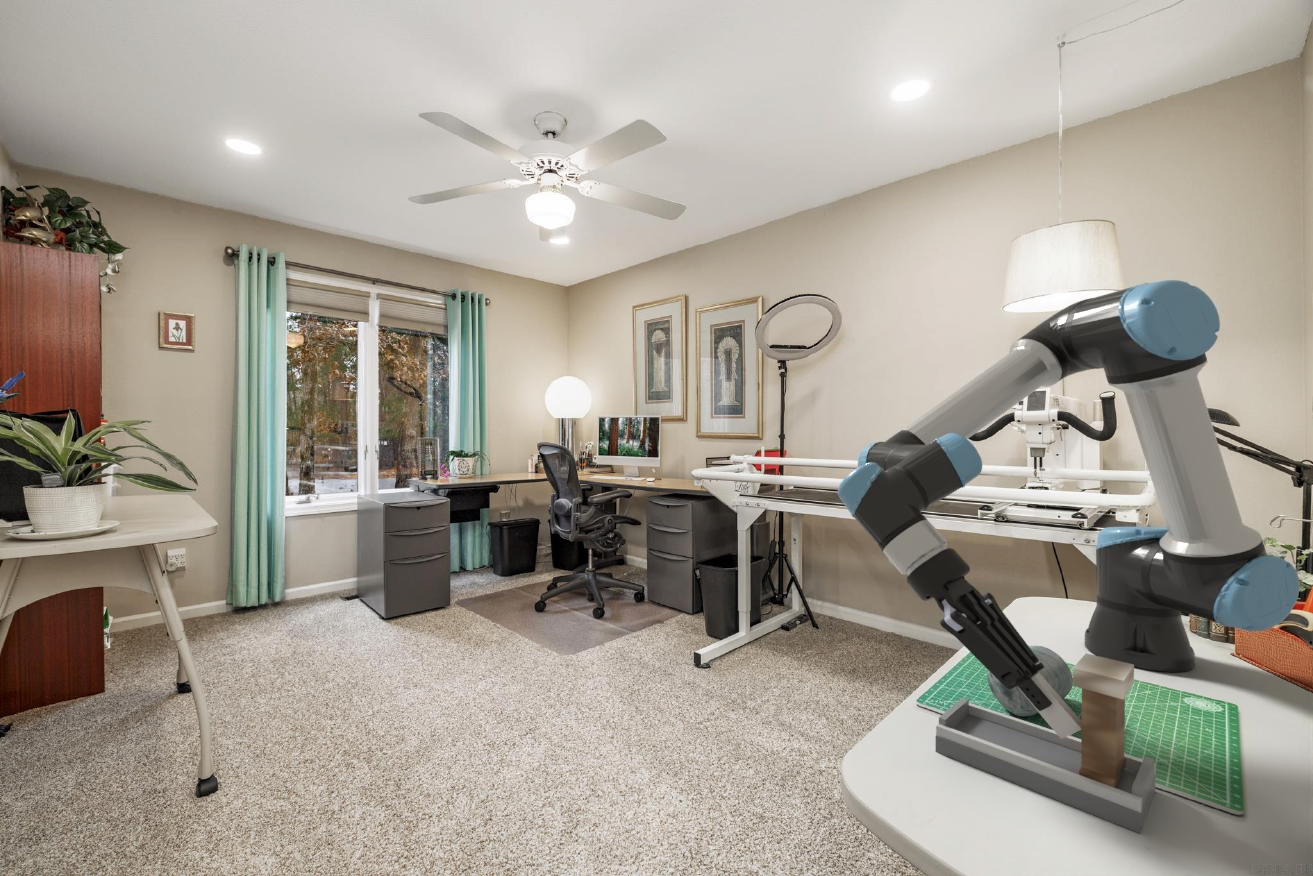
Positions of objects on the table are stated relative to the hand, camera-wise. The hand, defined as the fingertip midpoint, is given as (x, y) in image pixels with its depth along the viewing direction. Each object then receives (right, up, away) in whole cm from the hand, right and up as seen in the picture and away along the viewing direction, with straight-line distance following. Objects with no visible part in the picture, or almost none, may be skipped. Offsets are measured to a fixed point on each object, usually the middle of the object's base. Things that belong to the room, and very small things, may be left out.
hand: (1072, 732), depth 66 cm
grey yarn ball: (+7, -6, +19) cm, 21 cm away
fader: (+2, -4, -2) cm, 5 cm away
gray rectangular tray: (-2, -6, +3) cm, 7 cm away
